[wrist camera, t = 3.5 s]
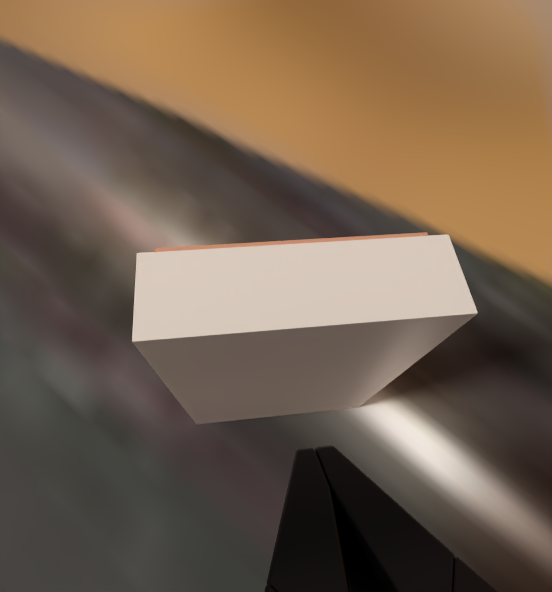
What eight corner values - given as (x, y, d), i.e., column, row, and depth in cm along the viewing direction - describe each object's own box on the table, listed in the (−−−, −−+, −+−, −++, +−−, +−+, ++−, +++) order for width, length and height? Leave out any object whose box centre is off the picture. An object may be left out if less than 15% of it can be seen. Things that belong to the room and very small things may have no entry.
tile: (358, 407, 17) (477, 313, 8) (196, 424, 16) (131, 341, 7) (348, 356, 18) (444, 223, 9) (195, 370, 17) (137, 241, 8)
